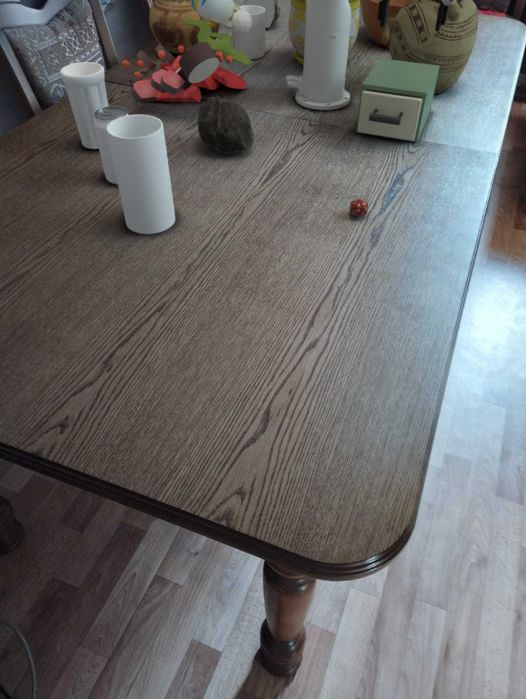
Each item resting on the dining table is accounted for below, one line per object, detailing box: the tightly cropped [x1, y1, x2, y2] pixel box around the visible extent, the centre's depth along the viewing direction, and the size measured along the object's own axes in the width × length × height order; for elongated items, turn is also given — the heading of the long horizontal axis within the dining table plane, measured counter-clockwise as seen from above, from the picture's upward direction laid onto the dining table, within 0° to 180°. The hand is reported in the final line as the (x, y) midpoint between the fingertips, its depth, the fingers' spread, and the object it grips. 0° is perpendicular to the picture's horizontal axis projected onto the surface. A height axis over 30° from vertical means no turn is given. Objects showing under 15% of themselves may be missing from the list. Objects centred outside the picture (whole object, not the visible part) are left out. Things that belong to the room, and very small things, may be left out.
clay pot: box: [148, 0, 221, 56], centre depth 146 cm, size 19×19×20 cm
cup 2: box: [107, 114, 176, 235], centre depth 86 cm, size 8×8×16 cm
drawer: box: [356, 90, 422, 142], centre depth 113 cm, size 19×12×8 cm, turn 159°
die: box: [348, 198, 369, 218], centre depth 92 cm, size 3×3×3 cm
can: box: [94, 105, 129, 186], centre depth 98 cm, size 6×6×12 cm
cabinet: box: [355, 57, 440, 143], centre depth 115 cm, size 16×13×10 cm
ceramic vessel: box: [382, 0, 479, 95], centre depth 123 cm, size 19×21×30 cm
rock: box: [197, 96, 255, 155], centre depth 108 cm, size 10×11×10 cm
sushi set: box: [121, 0, 254, 104], centre depth 124 cm, size 29×30×24 cm
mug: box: [232, 5, 266, 60], centre depth 146 cm, size 9×12×11 cm
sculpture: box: [241, 0, 281, 30], centre depth 168 cm, size 11×18×12 cm
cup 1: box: [59, 61, 109, 150], centre depth 107 cm, size 8×8×14 cm
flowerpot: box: [288, 0, 361, 66], centre depth 140 cm, size 18×18×16 cm
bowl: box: [360, 0, 412, 48], centre depth 153 cm, size 25×25×11 cm
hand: (410, 27), depth 97 cm, fingers open, 9 cm apart
